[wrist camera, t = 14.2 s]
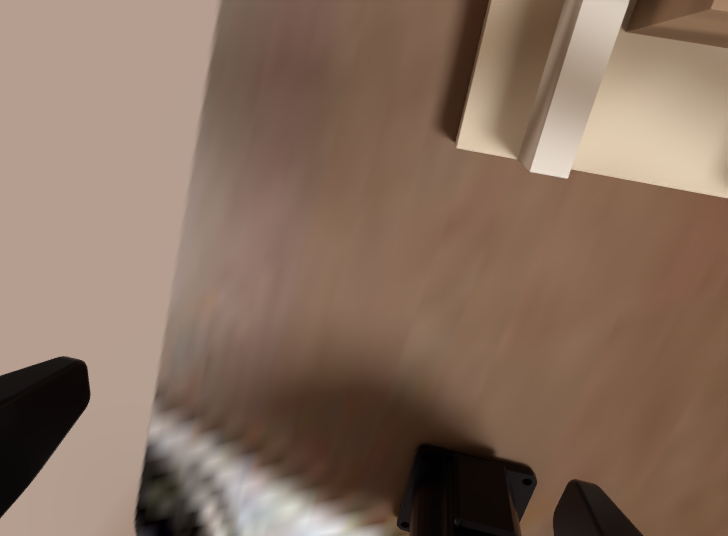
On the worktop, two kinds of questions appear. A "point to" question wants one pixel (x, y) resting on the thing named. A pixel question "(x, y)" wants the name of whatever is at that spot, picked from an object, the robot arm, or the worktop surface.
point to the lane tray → (597, 96)
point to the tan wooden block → (682, 20)
